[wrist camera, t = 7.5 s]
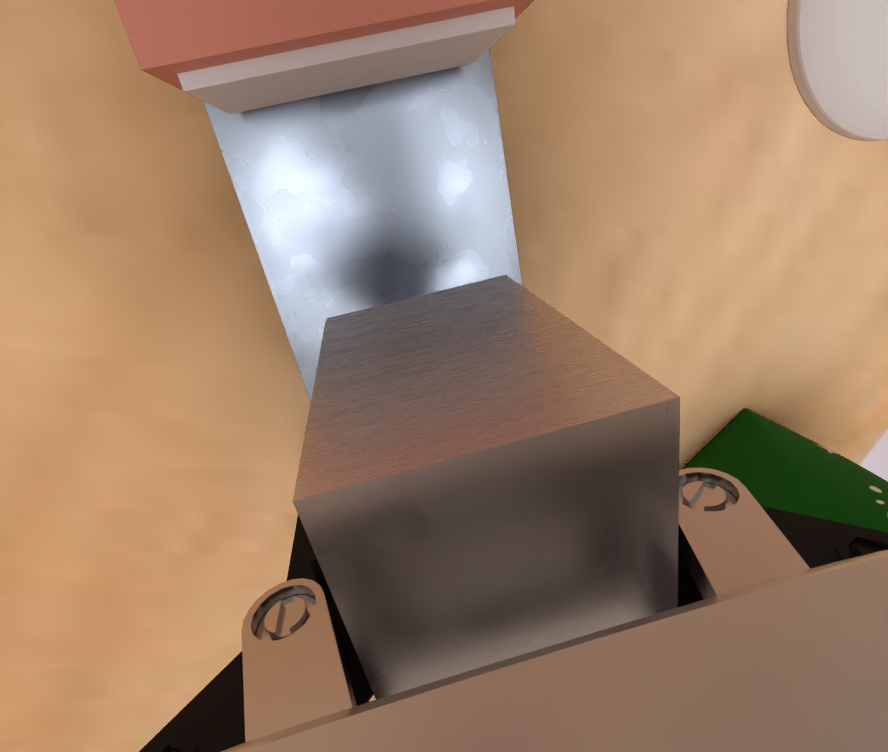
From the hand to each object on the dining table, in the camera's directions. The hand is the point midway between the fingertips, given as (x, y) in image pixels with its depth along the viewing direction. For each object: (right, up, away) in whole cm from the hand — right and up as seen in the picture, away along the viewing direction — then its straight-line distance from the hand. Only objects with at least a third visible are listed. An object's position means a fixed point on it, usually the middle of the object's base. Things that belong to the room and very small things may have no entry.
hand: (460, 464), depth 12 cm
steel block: (0, +1, +1) cm, 2 cm away
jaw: (-4, +14, +6) cm, 16 cm away
